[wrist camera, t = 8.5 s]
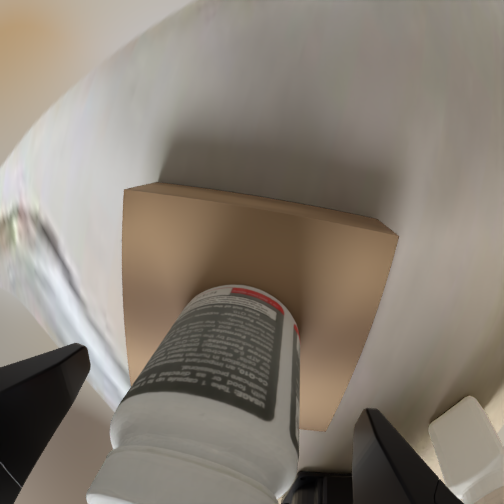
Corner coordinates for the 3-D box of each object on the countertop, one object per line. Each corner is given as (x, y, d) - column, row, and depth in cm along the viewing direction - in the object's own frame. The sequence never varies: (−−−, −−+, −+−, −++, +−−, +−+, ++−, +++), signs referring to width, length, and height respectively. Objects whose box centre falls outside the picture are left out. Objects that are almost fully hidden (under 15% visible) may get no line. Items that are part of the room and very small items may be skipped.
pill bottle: (159, 319, 12) (38, 478, 4) (249, 256, 11) (148, 476, 3) (231, 395, 13) (180, 563, 5) (323, 350, 11) (333, 560, 3)
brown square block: (323, 392, 16) (325, 431, 13) (153, 357, 16) (131, 389, 14) (377, 219, 12) (399, 236, 10) (157, 182, 13) (123, 189, 10)
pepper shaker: (423, 424, 16) (455, 536, 7) (469, 389, 15) (521, 496, 6) (443, 440, 16) (472, 537, 7) (484, 410, 15) (528, 502, 6)
